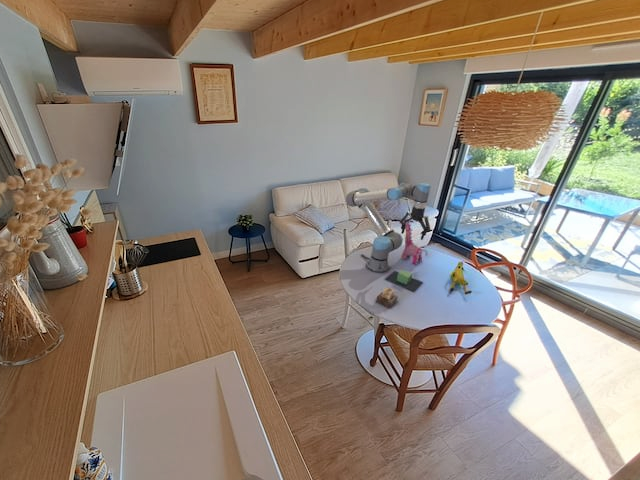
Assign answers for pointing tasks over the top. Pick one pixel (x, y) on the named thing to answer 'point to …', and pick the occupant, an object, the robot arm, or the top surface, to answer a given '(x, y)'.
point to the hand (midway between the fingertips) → (411, 236)
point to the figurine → (459, 278)
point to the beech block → (387, 293)
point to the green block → (404, 276)
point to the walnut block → (386, 300)
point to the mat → (411, 285)
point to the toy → (411, 246)
